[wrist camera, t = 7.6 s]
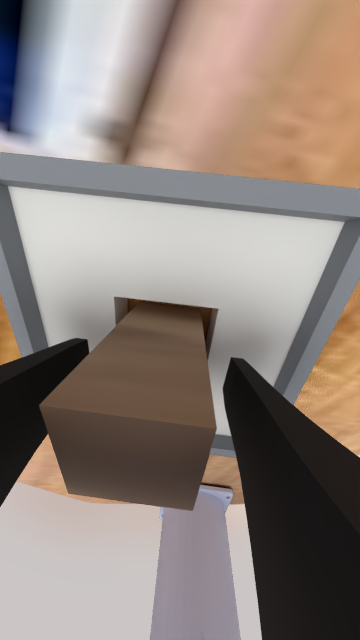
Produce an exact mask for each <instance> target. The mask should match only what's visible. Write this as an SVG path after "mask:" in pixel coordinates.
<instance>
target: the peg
mask: <svg viewBox="0 0 360 640" xmlns="http://www.w3.org/2000/svg"><path fill="white" fill-rule="evenodd" d="M39 407H40V410H41V413H42V416H43V419H44V422H45V425H46V428H47V431H48V434H49V437H50V440H51V443H52V446H53V449H54V452H55V455H56V458H57V461H58V464H59V467H60V470H61V473H62V476H63V479H64V482H65V485H66V488H67V491H68V494H75V495H82V496H89V497H96V498H103V499H110V500H117V501H124V502H131V503H138V504H145V505H153V506H160V507H166V508H173V509H180V510H188V511H193V509H194V505H195V502H196V499H197V495H198V492H199V488H200V485H201V481H202V478H203V475H204V471H205V468H206V464H207V461H208V457H209V454H210V451H211V447H212V444H213V440H214V437H215V433H216V430H217V426H216V419H215V412H214V404H213V397H212V390H211V383H210V375H209V368H208V361H207V354H206V346H205V339H204V332H203V325H202V317H201V310H200V308H194V307H186V306H178V305H169V304H161V303H152V302H144V301H140V302H139V303H138V304H137V305H136V306H135V307H134V308H133V309H132V310H131V311H130V312H129V313H128V314H127V315H126V316H125V317H124V318H123V319H122V320H121V321H120V322H119V323H118V324H117V325H116V326H115V328H114V329H113V330H112V331H111V332H110V333H109V334H108V335H107V336H106V337H105V338H104V339H103V340H102V341H101V342H100V343H99V344H98V345H97V346H96V347H95V348H94V349H93V350H92V351H91V352H90V353H89V354H88V355H87V356H86V357H85V358H84V359H83V360H82V361H81V363H80V364H79V365H78V366H77V367H76V368H75V369H74V370H73V371H72V372H71V373H70V374H69V375H68V376H67V377H66V378H65V379H64V380H63V381H62V382H61V383H60V384H59V385H58V386H57V387H56V388H55V389H54V390H53V391H52V392H51V393H50V394H49V395H48V396H47V397H46V399H45V400H44V401H43V402H42V403H41V404H40V405H39Z"/></svg>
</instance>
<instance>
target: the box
mask: <svg viewBox="0 0 360 640" xmlns="http://www.w3.org/2000/svg"><path fill="white" fill-rule="evenodd" d="M359 279H360V189H356V188H346V187H337V186H327V185H317V184H307V183H298V182H288V181H278V180H268V179H258V178H249V177H239V176H229V175H219V174H210V173H200V172H190V171H180V170H170V169H161V168H151V167H141V166H131V165H121V164H112V163H102V162H92V161H82V160H73V159H63V158H53V157H43V156H33V155H24V154H14V153H4V152H0V293H1V296H2V299H3V302H4V305H5V308H6V311H7V314H8V317H9V320H10V323H11V326H12V329H13V332H14V335H15V338H16V341H17V344H18V347H19V350H20V353H21V356H22V357H25V356H28V355H30V354H33V353H35V352H38V351H40V350H43V349H46V348H48V347H51V346H53V345H56V344H59V343H61V342H64V341H67V340H70V339H74V338H81V339H88V346H89V353H90V352H91V351H92V350H93V349H94V348H95V347H96V346H97V345H98V344H99V343H100V342H101V341H102V340H103V339H104V338H105V337H106V336H107V335H108V334H109V333H110V332H111V331H112V330H113V329H114V328H115V326H116V325H117V324H118V323H119V322H120V321H121V320H122V319H123V318H124V317H125V316H126V315H127V314H128V301H127V298H131V299H140V300H148V301H157V302H165V303H174V304H182V305H191V306H199V307H208V308H212V312H211V317H210V322H209V328H208V333H207V338H206V343H205V346H206V354H207V361H208V368H209V375H210V383H211V390H212V397H213V404H214V412H215V419H216V426H217V430H216V433H215V437H214V440H213V444H212V447H211V451H210V455H218V456H225V457H233V458H236V454H235V449H234V445H233V441H232V437H231V433H230V429H229V424H228V420H227V416H226V412H225V406H224V398H223V389H222V388H223V384H224V381H225V377H226V373H227V370H228V366H229V362H230V359H231V357H235V358H243V359H244V360H246V361H247V362H248V363H249V364H250V365H251V366H252V367H253V368H254V369H255V370H256V371H257V372H258V373H259V374H260V375H261V376H262V377H263V378H264V379H265V380H266V381H267V382H268V383H269V384H271V385H272V386H273V387H274V388H275V389H276V390H277V391H278V392H279V393H280V394H281V395H282V396H283V397H285V398H286V399H287V400H288V401H289V402H290V403H291V404H292V405H294V403H295V401H296V399H297V397H298V395H299V393H300V391H301V389H302V387H303V386H304V384H305V382H306V380H307V378H308V376H309V374H310V372H311V370H312V368H313V367H314V365H315V363H316V361H317V359H318V357H319V355H320V353H321V351H322V350H323V348H324V346H325V344H326V342H327V340H328V338H329V336H330V334H331V332H332V331H333V329H334V327H335V325H336V323H337V321H338V319H339V317H340V315H341V313H342V312H343V310H344V308H345V306H346V304H347V302H348V300H349V298H350V296H351V294H352V293H353V291H354V289H355V287H356V285H357V283H358V281H359Z"/></svg>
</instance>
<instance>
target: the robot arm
mask: <svg viewBox="0 0 360 640" xmlns="http://www.w3.org/2000/svg"><path fill="white" fill-rule="evenodd" d="M88 354H89V346H88V339H81V338H74V339H70V340H67V341H64V342H61V343H59V344H56V345H53V346H51V347H48V348H46V349H43V350H40V351H38V352H35V353H33V354H30V355H28V356H25V357H22V358H20V359H17V360H14V361H11V362H9V363H6V364H3V365H0V507H1V505H2V503H3V502H4V500H5V499H6V497H7V495H8V494H9V492H10V490H11V489H12V487H13V485H14V484H15V482H16V481H17V479H18V477H19V476H20V474H21V473H22V471H23V470H24V468H25V467H26V465H27V464H28V462H29V461H30V459H31V457H32V456H33V454H34V453H35V451H36V450H37V448H38V447H39V445H40V444H41V443H42V441H43V440H44V439H45V437H46V436H47V434H48V431H47V428H46V425H45V422H44V419H43V416H42V413H41V410H40V407H39V405H40V404H41V403H42V402H43V401H44V400H45V399H46V397H47V396H48V395H49V394H50V393H51V392H52V391H53V390H54V389H55V388H56V387H57V386H58V385H59V384H60V383H61V382H62V381H63V380H64V379H65V378H66V377H67V376H68V375H69V374H70V373H71V372H72V371H73V370H74V369H75V368H76V367H77V366H78V365H79V364H80V363H81V361H82V360H83V359H84V358H85V357H86V356H87V355H88ZM222 389H223V398H224V406H225V412H226V416H227V420H228V424H229V429H230V433H231V437H232V441H233V445H234V449H235V454H236V458H237V462H238V467H239V472H240V477H241V483H242V489H243V496H244V502H245V508H246V515H247V521H248V529H249V536H250V542H251V550H252V558H253V566H254V574H255V582H256V590H257V598H258V606H259V615H260V623H261V632H262V640H360V457H358V456H357V455H355V454H354V453H353V452H351V451H350V450H349V449H347V448H346V447H345V446H343V445H342V444H341V443H339V442H338V441H337V440H335V439H334V438H333V437H331V436H330V435H329V434H328V433H326V432H325V431H324V430H323V429H321V428H320V427H319V426H317V425H316V424H315V423H314V422H312V421H311V420H310V419H309V418H308V417H306V416H305V415H304V414H303V413H302V412H300V411H299V410H298V409H297V408H296V407H295V406H294V405H292V404H291V403H290V402H289V401H288V400H287V399H286V398H285V397H283V396H282V395H281V394H280V393H279V392H278V391H277V390H276V389H275V388H274V387H273V386H272V385H271V384H269V383H268V382H267V381H266V380H265V379H264V378H263V377H262V376H261V375H260V374H259V373H258V372H257V371H256V370H255V369H254V368H253V367H252V366H251V365H250V364H249V363H248V362H247V361H246V360H244V359H243V358H235V357H231V359H230V362H229V366H228V370H227V373H226V377H225V381H224V384H223V388H222ZM232 497H233V491H232V490H231V489H227V488H220V487H213V486H205V485H200V488H199V492H198V495H197V499H196V502H195V505H194V509H193V511H188V510H180V509H173V508H166V507H161V509H160V517H159V518H160V520H162V521H163V522H162V531H161V541H160V550H159V560H158V569H157V579H156V587H155V597H154V607H153V616H152V624H151V634H150V640H241V639H240V631H239V623H238V616H237V607H236V599H235V591H234V583H233V575H232V567H231V559H230V551H229V543H228V534H227V526H226V518H225V512H226V510H227V508H228V506H229V503H230V501H231V499H232Z"/></svg>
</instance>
